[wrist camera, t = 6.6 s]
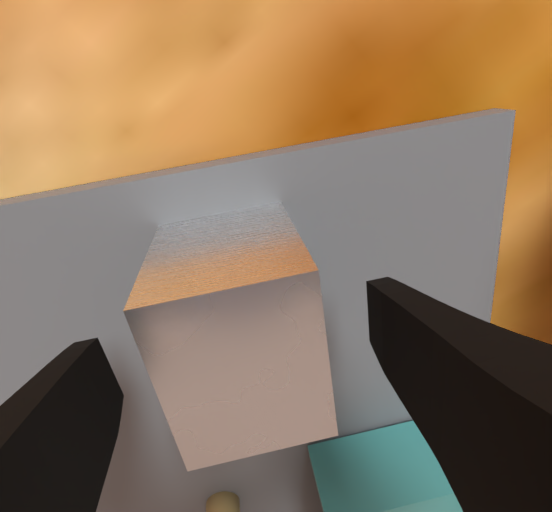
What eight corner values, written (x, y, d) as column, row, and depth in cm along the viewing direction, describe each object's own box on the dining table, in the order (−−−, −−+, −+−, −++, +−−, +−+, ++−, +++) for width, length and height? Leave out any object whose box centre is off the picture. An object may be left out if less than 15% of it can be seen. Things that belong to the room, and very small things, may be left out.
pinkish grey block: (280, 201, 12) (318, 270, 8) (299, 325, 14) (338, 435, 10) (158, 225, 12) (122, 310, 7) (196, 347, 14) (187, 471, 10)
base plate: (494, 108, 13) (584, 115, 10) (455, 514, 23) (492, 581, 20) (-108, 219, 12) (-228, 269, 8) (135, 597, 22) (121, 682, 19)
